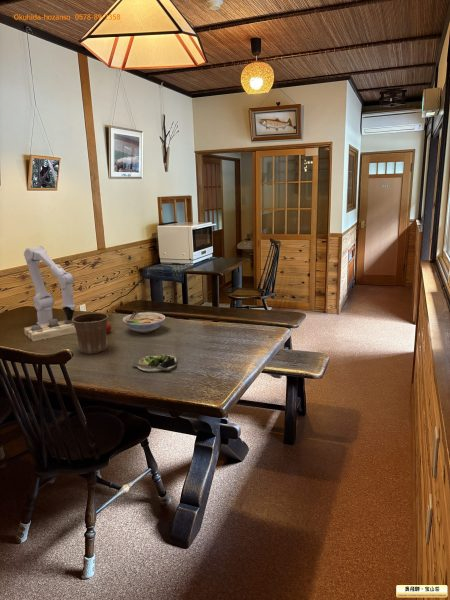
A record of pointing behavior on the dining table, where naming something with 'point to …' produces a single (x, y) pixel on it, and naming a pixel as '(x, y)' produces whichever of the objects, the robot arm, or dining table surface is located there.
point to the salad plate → (156, 363)
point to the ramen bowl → (144, 321)
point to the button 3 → (69, 322)
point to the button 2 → (53, 323)
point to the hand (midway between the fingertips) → (69, 319)
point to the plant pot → (91, 332)
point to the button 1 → (36, 327)
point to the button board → (50, 331)
